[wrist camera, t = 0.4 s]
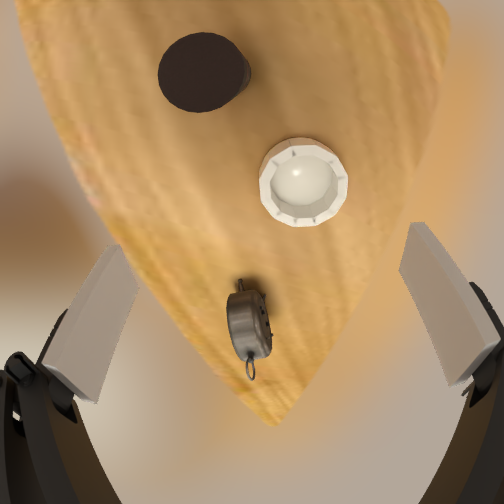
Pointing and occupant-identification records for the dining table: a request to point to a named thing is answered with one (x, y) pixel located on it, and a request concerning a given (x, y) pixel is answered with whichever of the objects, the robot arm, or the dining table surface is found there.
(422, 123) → the dining table surface
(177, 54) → the deodorant
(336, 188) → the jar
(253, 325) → the alarm clock
